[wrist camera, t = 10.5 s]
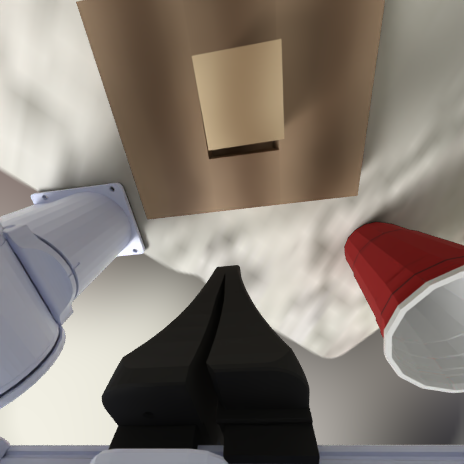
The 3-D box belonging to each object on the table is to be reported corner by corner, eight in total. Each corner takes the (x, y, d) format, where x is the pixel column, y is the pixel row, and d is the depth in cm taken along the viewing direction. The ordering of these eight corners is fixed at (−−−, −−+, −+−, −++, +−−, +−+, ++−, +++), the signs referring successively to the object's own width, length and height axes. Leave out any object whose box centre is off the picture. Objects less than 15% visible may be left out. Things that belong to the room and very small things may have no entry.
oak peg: (218, 144, 18) (207, 151, 11) (210, 89, 16) (190, 54, 9) (265, 137, 18) (285, 139, 11) (261, 80, 16) (282, 37, 9)
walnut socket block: (160, 206, 21) (147, 219, 18) (109, 29, 15) (76, 1, 12) (338, 185, 20) (357, 195, 17) (357, -17, 14) (393, -60, 11)
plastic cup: (385, 173, 19) (574, 222, 9) (441, 239, 22) (633, 337, 12) (299, 248, 23) (355, 348, 12) (356, 296, 26) (442, 411, 15)
